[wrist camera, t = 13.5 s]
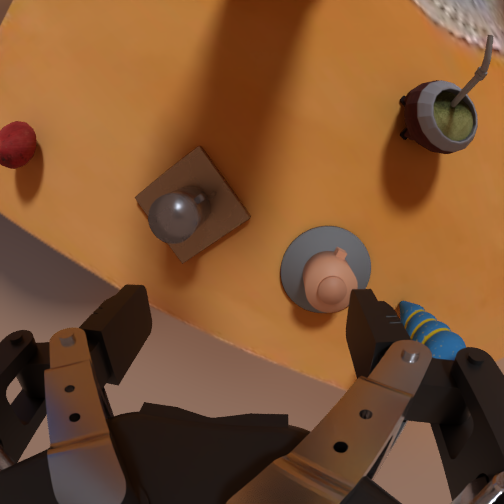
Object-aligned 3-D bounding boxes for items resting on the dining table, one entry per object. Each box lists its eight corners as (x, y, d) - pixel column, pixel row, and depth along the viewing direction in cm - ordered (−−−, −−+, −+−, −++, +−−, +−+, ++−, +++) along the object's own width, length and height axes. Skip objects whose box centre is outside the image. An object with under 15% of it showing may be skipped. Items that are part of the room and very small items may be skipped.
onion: (50, 159, 33) (8, 165, 25) (22, 169, 34) (-19, 177, 26) (46, 116, 31) (4, 115, 24) (18, 128, 32) (-23, 130, 24)
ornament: (379, 291, 35) (427, 371, 21) (418, 276, 34) (481, 345, 20) (388, 326, 36) (430, 410, 22) (424, 311, 35) (479, 386, 21)
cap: (360, 256, 33) (372, 272, 29) (332, 307, 35) (339, 328, 31) (318, 237, 33) (324, 250, 29) (291, 290, 35) (293, 309, 31)
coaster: (342, 208, 32) (343, 209, 32) (383, 281, 35) (385, 283, 34) (263, 257, 35) (262, 259, 34) (310, 324, 37) (310, 327, 36)
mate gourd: (418, 164, 30) (502, 180, 16) (372, 108, 29) (438, 82, 15) (458, 124, 28) (547, 122, 14) (415, 69, 27) (491, 31, 13)
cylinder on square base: (201, 146, 32) (181, 145, 25) (250, 216, 34) (243, 233, 27) (138, 196, 34) (108, 207, 27) (185, 260, 36) (165, 285, 29)
